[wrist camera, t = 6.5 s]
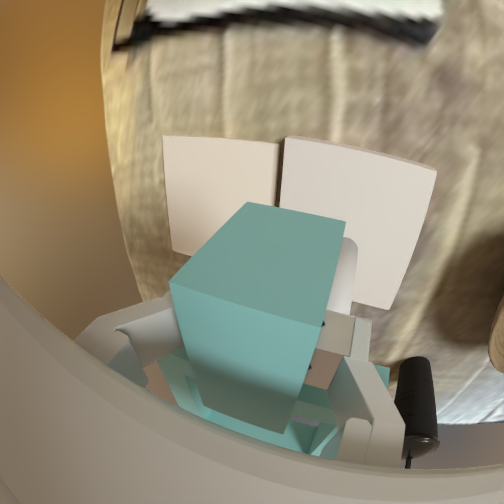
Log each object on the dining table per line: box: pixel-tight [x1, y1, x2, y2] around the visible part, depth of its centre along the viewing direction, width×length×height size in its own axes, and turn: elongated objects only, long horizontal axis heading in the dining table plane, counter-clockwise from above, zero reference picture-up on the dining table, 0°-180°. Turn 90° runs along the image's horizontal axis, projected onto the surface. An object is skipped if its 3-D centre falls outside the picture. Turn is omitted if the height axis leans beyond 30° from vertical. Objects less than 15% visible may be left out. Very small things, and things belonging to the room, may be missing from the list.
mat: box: [162, 135, 280, 256], centre depth 32 cm, size 16×14×1 cm
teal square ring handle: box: [157, 202, 390, 457], centre depth 11 cm, size 16×10×4 cm, turn 177°
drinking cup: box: [394, 357, 440, 469], centre depth 25 cm, size 8×8×20 cm
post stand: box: [279, 135, 437, 315], centre depth 22 cm, size 16×14×12 cm
